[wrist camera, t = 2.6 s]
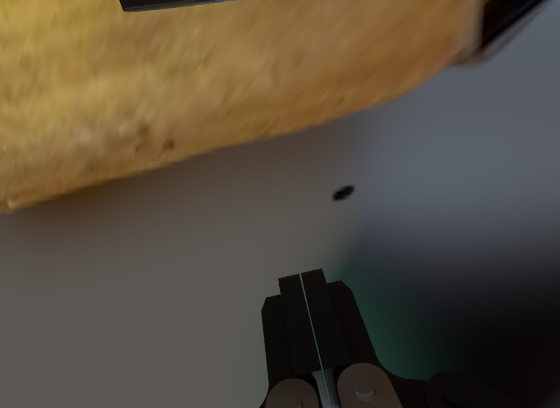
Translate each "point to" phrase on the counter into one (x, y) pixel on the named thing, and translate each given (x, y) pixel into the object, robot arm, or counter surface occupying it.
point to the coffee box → (160, 4)
